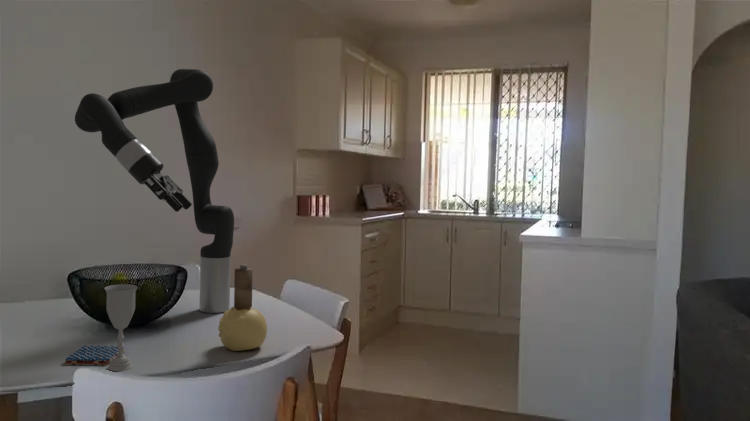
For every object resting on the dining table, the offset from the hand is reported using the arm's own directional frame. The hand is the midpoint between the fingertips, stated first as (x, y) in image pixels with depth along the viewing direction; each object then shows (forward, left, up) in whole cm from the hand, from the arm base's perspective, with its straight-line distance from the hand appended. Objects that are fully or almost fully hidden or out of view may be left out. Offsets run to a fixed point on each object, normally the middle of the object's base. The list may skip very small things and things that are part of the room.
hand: (184, 208), depth 152 cm
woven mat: (+15, -16, -35) cm, 41 cm away
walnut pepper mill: (+4, +16, -24) cm, 29 cm away
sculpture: (+4, +16, -35) cm, 39 cm away
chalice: (+21, -8, -35) cm, 41 cm away
